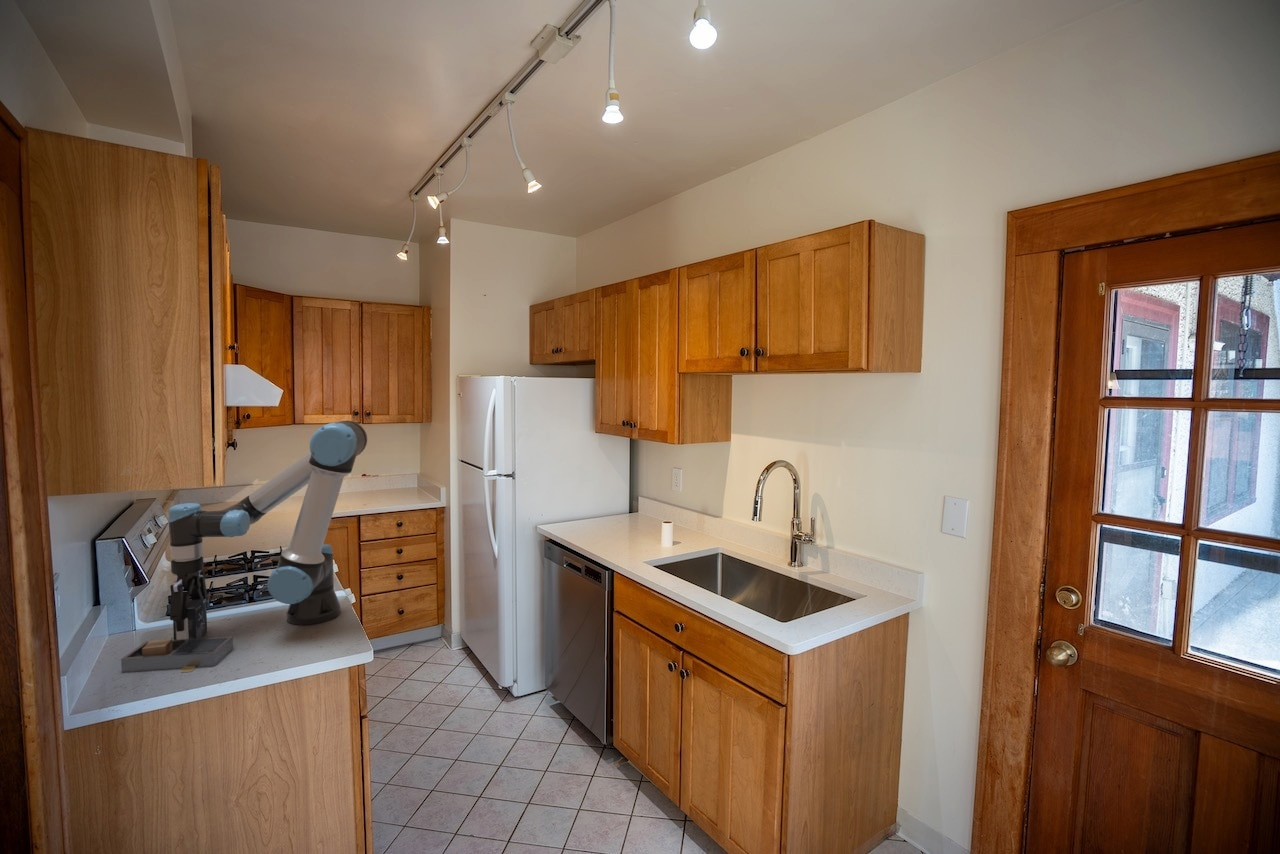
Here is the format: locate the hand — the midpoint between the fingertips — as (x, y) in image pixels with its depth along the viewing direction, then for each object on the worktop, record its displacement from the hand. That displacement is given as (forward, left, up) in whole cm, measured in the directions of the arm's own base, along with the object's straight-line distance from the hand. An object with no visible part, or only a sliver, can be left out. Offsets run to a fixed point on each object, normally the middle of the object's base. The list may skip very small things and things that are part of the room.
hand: (191, 634), depth 179 cm
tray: (+15, +4, -1) cm, 16 cm away
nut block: (+14, -1, -1) cm, 14 cm away
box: (0, 0, -2) cm, 2 cm away
